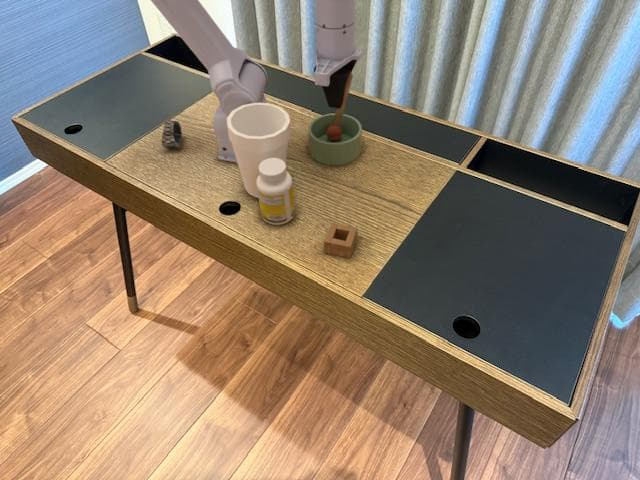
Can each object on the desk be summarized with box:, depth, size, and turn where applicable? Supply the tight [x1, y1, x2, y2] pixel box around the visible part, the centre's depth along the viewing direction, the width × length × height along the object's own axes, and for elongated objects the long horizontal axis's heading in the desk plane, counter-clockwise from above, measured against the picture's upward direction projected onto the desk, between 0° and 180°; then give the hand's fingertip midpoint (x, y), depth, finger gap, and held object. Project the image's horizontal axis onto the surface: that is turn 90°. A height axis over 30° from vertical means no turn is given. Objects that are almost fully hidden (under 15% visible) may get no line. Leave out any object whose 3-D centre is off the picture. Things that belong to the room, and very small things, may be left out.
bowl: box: [307, 112, 363, 166], centre depth 87 cm, size 9×9×4 cm
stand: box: [323, 222, 359, 259], centre depth 72 cm, size 4×4×2 cm
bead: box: [326, 124, 343, 141], centre depth 89 cm, size 3×3×3 cm
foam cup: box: [227, 102, 291, 199], centre depth 77 cm, size 10×9×13 cm
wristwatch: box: [161, 120, 183, 150], centre depth 90 cm, size 3×5×5 cm
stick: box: [333, 73, 354, 127], centre depth 79 cm, size 1×1×10 cm
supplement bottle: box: [256, 158, 296, 226], centre depth 74 cm, size 5×5×10 cm
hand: (336, 103), depth 80 cm, fingers closed on stick, 1 cm apart
